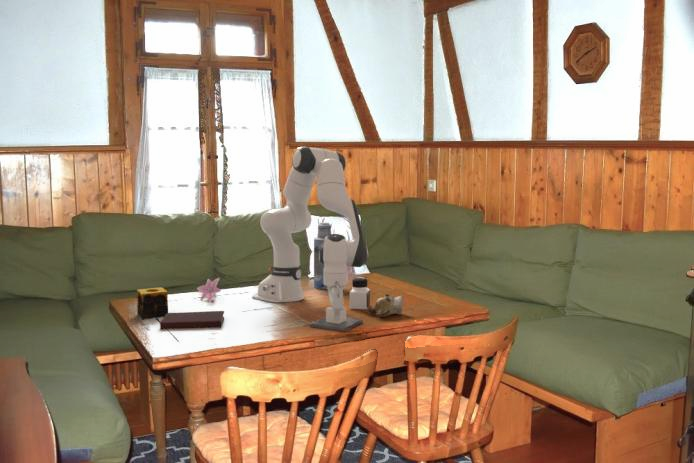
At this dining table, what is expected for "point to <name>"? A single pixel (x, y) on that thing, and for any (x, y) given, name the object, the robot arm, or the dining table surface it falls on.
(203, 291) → the lily
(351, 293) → the medicine bottle
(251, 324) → the dining table surface
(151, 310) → the yellow holed cube
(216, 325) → the book
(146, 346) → the dining table surface
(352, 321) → the post plate
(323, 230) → the grey elongated piece
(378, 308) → the ceramic sculpture
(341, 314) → the cream rectangular prism
